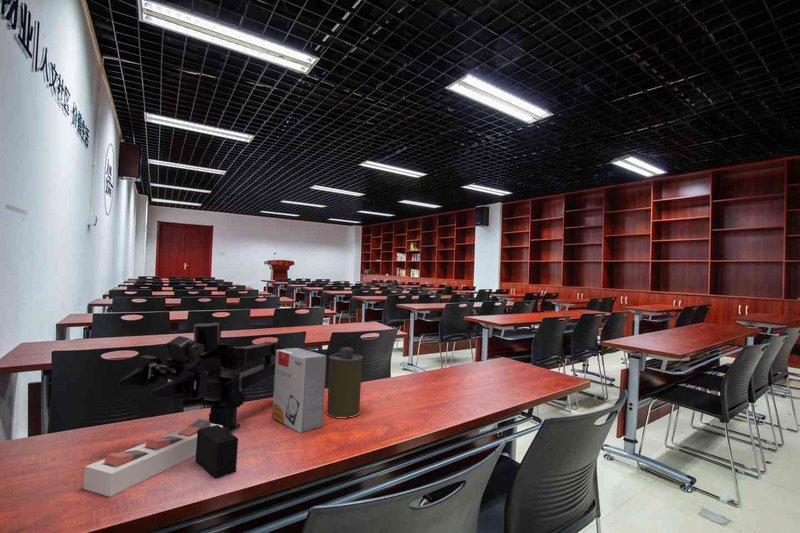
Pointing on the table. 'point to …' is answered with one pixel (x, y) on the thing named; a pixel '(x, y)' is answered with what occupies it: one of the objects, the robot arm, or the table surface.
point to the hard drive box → (299, 388)
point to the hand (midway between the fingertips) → (134, 388)
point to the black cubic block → (216, 451)
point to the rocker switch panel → (138, 466)
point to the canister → (344, 383)
